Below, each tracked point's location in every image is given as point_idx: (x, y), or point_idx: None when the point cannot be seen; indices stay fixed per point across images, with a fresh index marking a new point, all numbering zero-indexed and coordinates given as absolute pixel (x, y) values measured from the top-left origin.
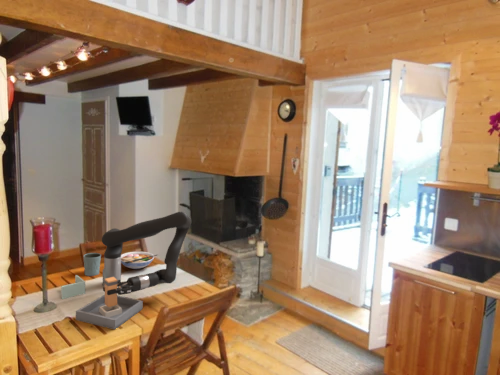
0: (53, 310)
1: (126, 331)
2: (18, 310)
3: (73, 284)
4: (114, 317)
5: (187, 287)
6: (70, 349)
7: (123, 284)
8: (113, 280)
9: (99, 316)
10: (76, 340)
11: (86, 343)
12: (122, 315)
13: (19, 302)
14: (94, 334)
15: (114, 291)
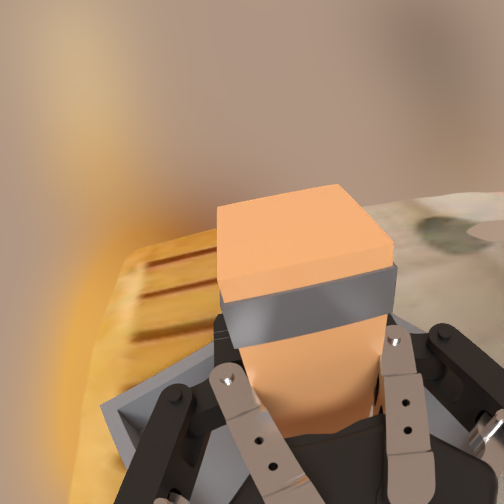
0: (428, 249)
1: (78, 463)
2: (433, 197)
3: None
4: (229, 459)
5: None
6: (125, 294)
7: (300, 476)
8: (218, 242)
9: (194, 353)
10: (158, 308)
11: (118, 328)
12: (122, 460)
13: (478, 195)
14: (151, 357)
15: (216, 364)
